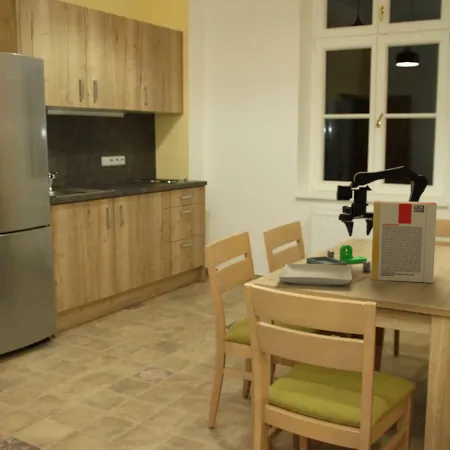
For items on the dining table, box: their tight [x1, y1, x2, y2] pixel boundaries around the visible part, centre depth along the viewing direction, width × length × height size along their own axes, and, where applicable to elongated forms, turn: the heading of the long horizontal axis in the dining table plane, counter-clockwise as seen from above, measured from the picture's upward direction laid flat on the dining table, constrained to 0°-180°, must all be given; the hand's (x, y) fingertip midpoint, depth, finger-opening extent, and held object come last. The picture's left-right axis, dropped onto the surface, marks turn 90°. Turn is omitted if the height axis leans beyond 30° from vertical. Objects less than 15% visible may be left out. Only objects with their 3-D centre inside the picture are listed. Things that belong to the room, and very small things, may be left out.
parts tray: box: [306, 255, 347, 266], centre depth 266 cm, size 10×16×2 cm, turn 24°
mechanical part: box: [339, 244, 368, 265], centre depth 272 cm, size 12×6×8 cm, turn 115°
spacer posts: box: [326, 249, 372, 273], centre depth 267 cm, size 19×31×4 cm, turn 24°
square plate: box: [278, 263, 353, 286], centre depth 238 cm, size 27×27×4 cm
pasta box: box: [370, 200, 438, 284], centre depth 236 cm, size 23×8×30 cm, turn 75°
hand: (359, 235), depth 270 cm, fingers open, 9 cm apart
